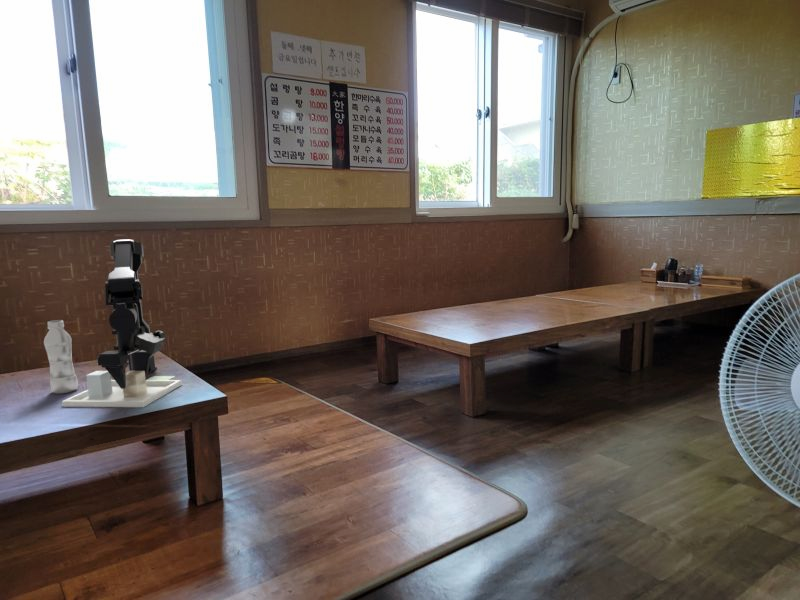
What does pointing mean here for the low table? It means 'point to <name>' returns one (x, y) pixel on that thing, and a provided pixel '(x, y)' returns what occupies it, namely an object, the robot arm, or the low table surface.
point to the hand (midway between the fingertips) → (134, 382)
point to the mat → (161, 378)
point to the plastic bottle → (60, 358)
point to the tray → (117, 397)
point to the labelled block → (135, 384)
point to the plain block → (99, 384)
